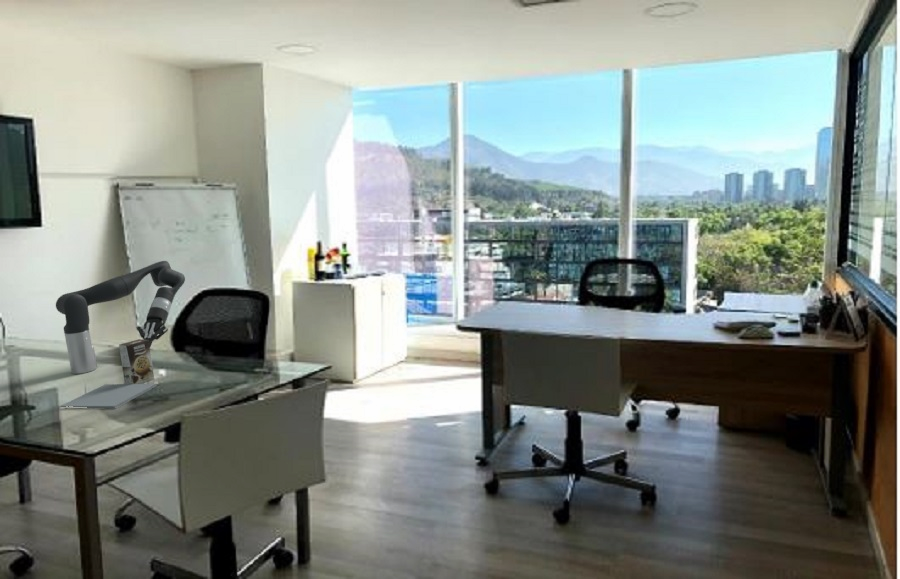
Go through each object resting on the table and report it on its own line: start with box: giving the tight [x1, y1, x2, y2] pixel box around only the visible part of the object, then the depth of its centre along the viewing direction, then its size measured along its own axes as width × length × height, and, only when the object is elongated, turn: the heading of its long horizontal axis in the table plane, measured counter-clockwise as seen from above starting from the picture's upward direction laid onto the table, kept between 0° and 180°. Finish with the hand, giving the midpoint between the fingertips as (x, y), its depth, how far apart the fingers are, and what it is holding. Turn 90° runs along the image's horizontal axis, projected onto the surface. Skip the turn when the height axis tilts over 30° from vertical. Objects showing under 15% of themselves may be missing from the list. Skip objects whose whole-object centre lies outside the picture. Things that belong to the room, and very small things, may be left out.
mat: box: [59, 383, 158, 410], centre depth 250 cm, size 24×22×1 cm
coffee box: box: [118, 338, 155, 384], centre depth 266 cm, size 9×6×16 cm
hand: (145, 348), depth 271 cm, fingers closed
